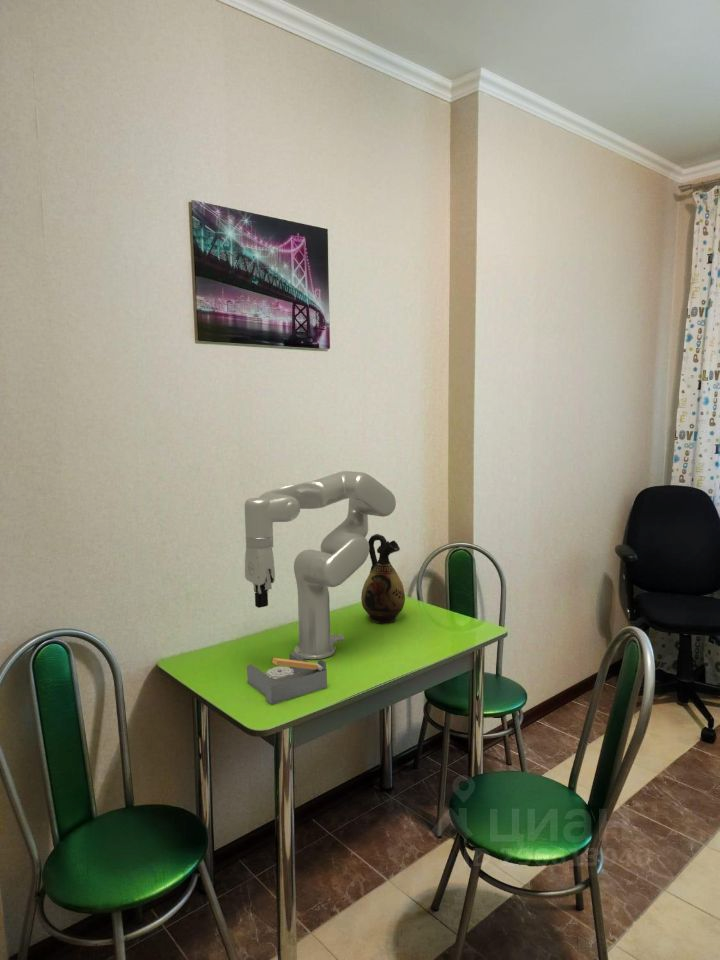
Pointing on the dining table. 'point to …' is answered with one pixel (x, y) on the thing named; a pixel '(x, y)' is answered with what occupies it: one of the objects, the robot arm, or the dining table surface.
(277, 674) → the mechanical component
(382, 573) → the ceramic jug
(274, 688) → the bracket
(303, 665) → the bar
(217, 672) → the dining table surface
